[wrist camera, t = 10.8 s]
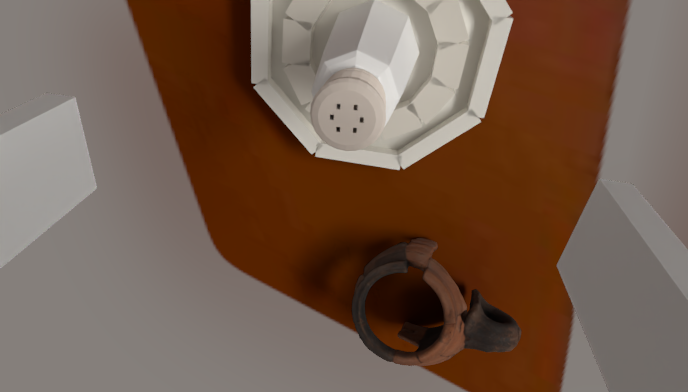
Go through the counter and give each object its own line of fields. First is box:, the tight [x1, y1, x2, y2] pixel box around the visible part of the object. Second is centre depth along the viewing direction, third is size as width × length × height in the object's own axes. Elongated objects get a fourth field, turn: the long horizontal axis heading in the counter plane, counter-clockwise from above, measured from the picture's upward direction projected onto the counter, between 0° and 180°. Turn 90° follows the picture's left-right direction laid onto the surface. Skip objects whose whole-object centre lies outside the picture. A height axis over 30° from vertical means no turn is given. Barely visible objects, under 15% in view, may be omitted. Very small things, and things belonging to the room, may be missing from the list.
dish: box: [251, 0, 513, 170], centre depth 25 cm, size 14×14×2 cm
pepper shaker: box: [310, 0, 419, 151], centre depth 20 cm, size 5×5×11 cm
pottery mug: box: [352, 238, 521, 366], centre depth 33 cm, size 12×10×8 cm
